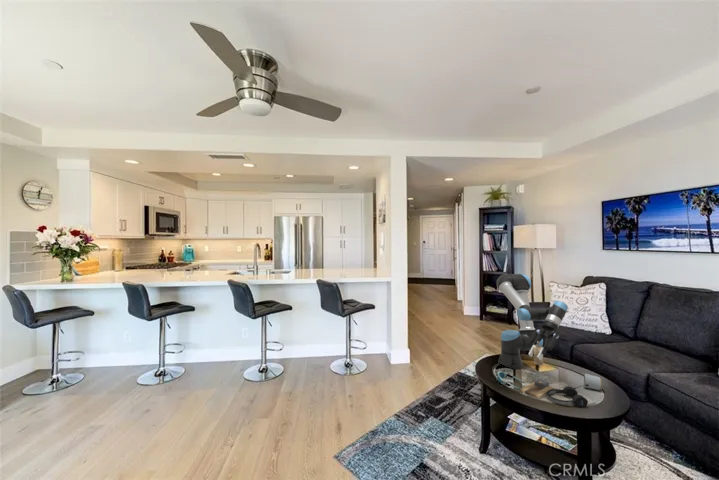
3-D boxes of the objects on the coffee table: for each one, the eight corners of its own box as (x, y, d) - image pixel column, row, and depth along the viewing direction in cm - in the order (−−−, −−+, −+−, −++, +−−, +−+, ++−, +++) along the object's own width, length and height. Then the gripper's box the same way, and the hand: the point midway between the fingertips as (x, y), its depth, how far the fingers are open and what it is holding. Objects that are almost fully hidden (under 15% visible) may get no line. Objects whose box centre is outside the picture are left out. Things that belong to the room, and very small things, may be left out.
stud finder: (534, 385, 174) (534, 381, 174) (539, 382, 177) (539, 378, 177) (543, 388, 170) (543, 384, 170) (548, 386, 173) (548, 381, 173)
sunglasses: (498, 376, 190) (499, 368, 190) (524, 385, 182) (525, 377, 182) (494, 384, 179) (495, 376, 178) (522, 394, 171) (523, 386, 170)
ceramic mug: (602, 393, 168) (602, 379, 169) (584, 389, 173) (584, 375, 173) (600, 386, 177) (599, 373, 177) (583, 382, 181) (582, 369, 182)
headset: (594, 389, 152) (552, 390, 155) (597, 408, 151) (554, 408, 154) (580, 377, 165) (541, 379, 168) (582, 395, 164) (543, 396, 168)
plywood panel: (520, 391, 169) (520, 389, 169) (535, 383, 180) (535, 381, 180) (539, 399, 161) (539, 396, 161) (553, 390, 171) (553, 387, 171)
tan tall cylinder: (532, 363, 170) (532, 341, 170) (536, 361, 173) (535, 339, 173) (541, 365, 167) (540, 343, 167) (544, 363, 169) (543, 341, 169)
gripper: (570, 331, 169) (553, 366, 161) (539, 324, 185) (523, 356, 177) (564, 323, 167) (546, 358, 159) (534, 317, 183) (517, 348, 175)
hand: (534, 356), depth 168 cm, fingers closed on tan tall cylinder, 4 cm apart
